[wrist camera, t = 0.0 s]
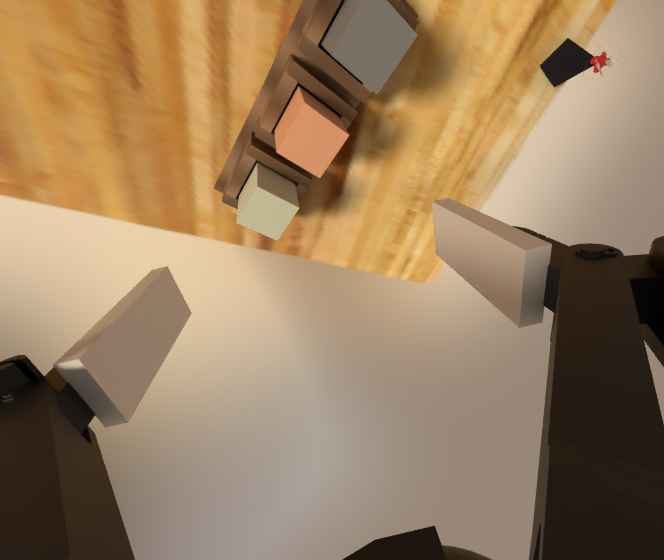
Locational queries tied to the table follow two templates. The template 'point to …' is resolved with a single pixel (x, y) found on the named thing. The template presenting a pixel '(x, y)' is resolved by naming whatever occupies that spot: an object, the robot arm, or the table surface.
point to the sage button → (267, 202)
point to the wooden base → (280, 85)
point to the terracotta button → (309, 133)
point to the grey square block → (369, 40)
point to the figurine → (571, 62)
